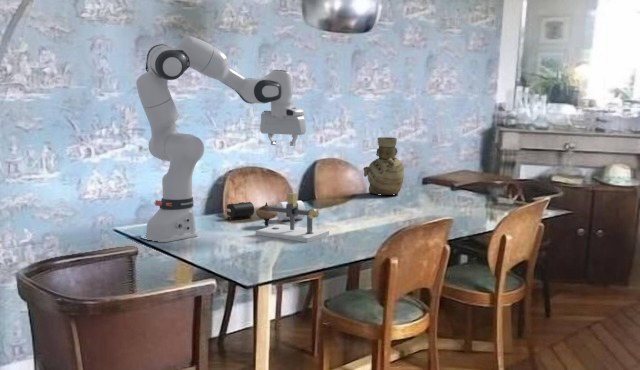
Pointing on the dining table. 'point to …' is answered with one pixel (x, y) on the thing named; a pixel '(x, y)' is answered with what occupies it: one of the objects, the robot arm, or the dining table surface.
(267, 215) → the brown spinning top
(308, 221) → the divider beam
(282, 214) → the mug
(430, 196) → the dining table surface
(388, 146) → the ceramic vessel
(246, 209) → the end cap
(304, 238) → the hole board
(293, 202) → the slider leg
